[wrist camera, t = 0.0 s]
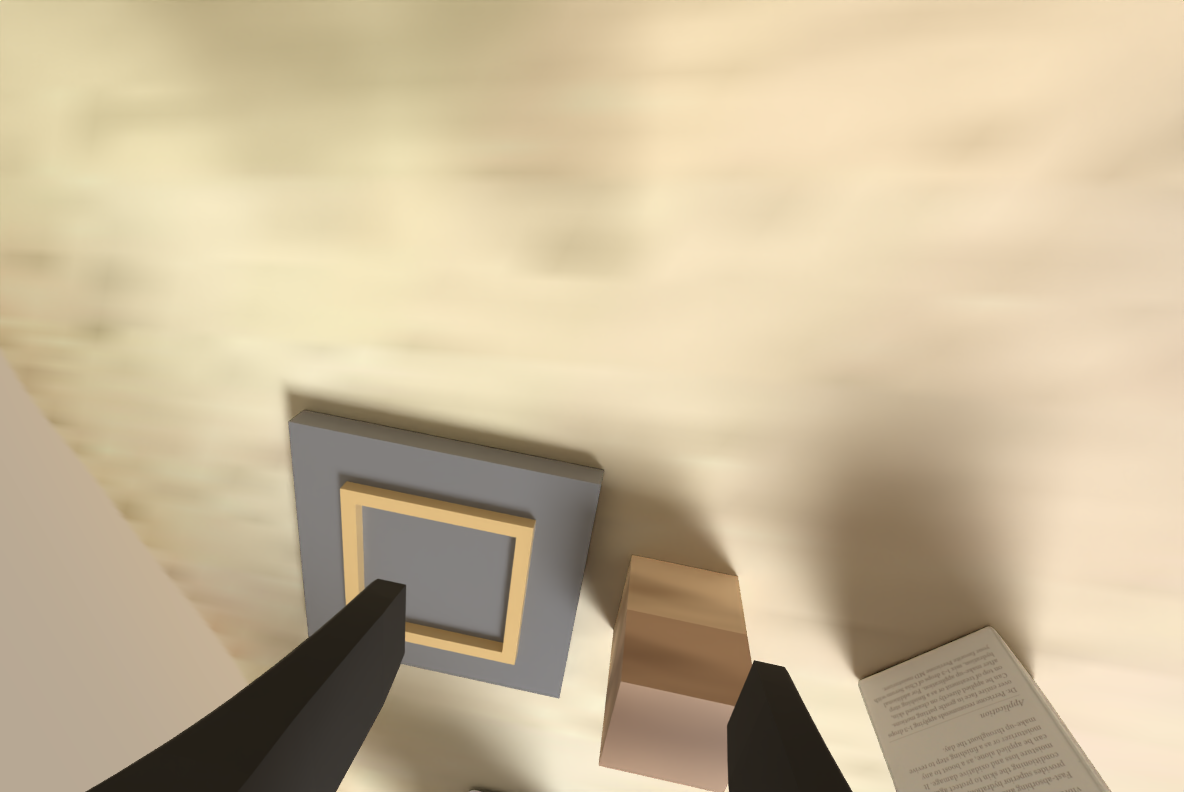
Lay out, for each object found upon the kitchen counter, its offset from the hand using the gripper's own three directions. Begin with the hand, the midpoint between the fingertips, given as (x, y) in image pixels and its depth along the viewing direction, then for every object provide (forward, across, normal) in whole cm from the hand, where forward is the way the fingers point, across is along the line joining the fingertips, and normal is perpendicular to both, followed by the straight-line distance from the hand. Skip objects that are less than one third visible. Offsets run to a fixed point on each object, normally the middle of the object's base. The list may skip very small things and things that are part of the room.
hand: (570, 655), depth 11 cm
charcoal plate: (+10, +6, +8) cm, 14 cm away
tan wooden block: (+10, -4, +8) cm, 14 cm away
